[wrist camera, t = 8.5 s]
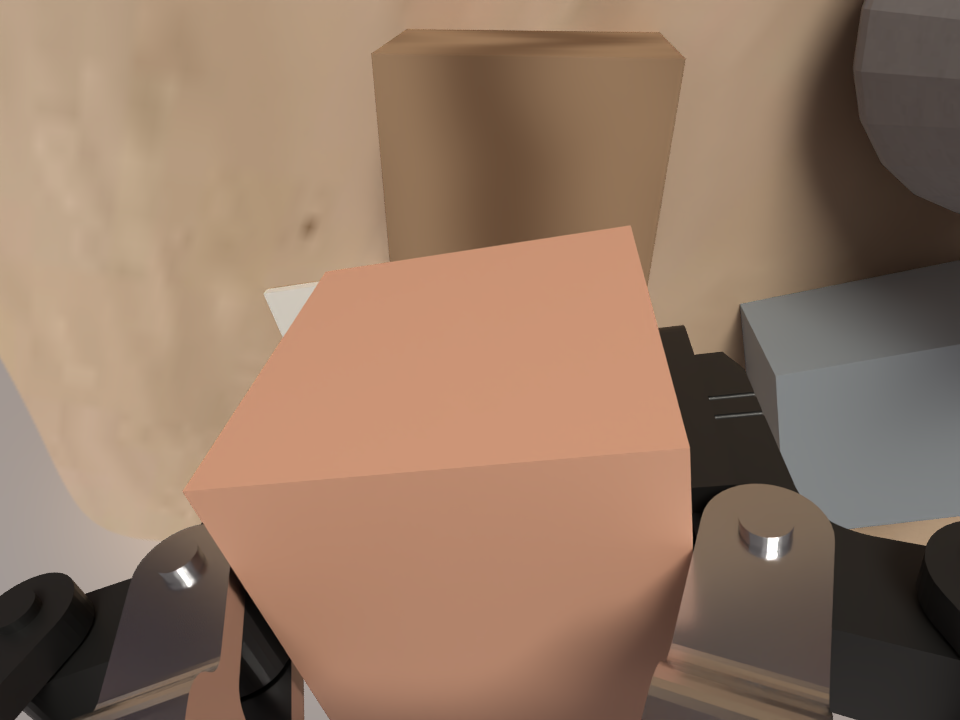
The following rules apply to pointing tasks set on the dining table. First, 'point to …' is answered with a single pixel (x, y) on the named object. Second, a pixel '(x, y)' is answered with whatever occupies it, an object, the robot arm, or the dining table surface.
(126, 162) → the dining table surface
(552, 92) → the walnut block
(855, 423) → the slate block
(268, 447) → the terracotta cube
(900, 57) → the coffee pot
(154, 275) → the dining table surface
